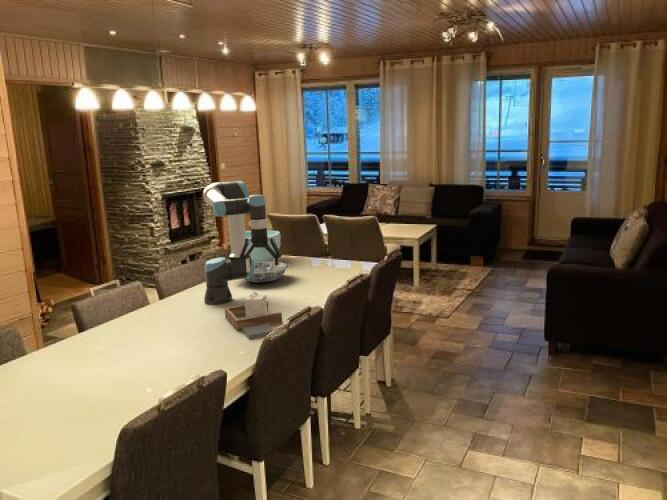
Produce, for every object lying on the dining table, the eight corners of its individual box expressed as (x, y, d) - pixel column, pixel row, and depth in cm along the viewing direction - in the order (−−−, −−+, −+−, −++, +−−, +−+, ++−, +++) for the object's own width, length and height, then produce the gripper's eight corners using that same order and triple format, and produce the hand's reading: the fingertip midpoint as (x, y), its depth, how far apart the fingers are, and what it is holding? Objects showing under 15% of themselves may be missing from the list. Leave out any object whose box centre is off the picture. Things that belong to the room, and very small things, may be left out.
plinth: (242, 331, 260) (241, 327, 260) (267, 326, 265) (266, 322, 264) (249, 339, 249) (249, 335, 249) (275, 334, 254) (275, 330, 254)
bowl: (238, 260, 415) (235, 231, 411) (285, 258, 414) (283, 229, 409) (227, 271, 381) (225, 239, 376) (279, 269, 379) (277, 237, 375)
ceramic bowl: (301, 277, 356) (300, 262, 354) (266, 291, 327) (265, 274, 325) (259, 272, 374) (258, 257, 372) (222, 285, 346) (221, 269, 344)
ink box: (262, 322, 271) (260, 296, 269) (246, 322, 273) (243, 295, 270) (268, 317, 279) (266, 291, 277) (252, 316, 281) (250, 290, 279)
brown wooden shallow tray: (225, 317, 281) (224, 308, 280) (267, 310, 290) (267, 301, 289) (237, 331, 261) (236, 320, 260) (282, 323, 269) (281, 313, 268)
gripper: (230, 229, 264) (234, 273, 268) (281, 229, 259) (284, 274, 263) (236, 226, 272) (240, 269, 276) (286, 226, 266) (289, 270, 270)
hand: (261, 272), depth 269 cm, fingers open, 13 cm apart
